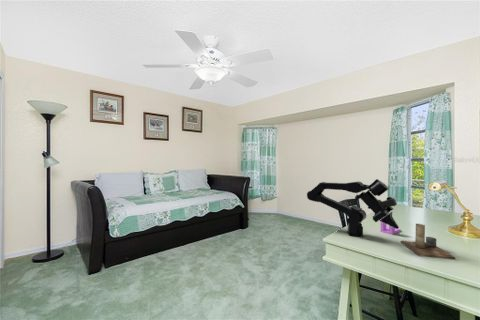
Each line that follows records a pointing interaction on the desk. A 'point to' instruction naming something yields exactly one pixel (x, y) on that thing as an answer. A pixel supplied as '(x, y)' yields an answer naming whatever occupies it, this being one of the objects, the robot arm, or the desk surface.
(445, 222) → the desk surface
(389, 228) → the bracket
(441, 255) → the brown board
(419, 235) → the crank handle
